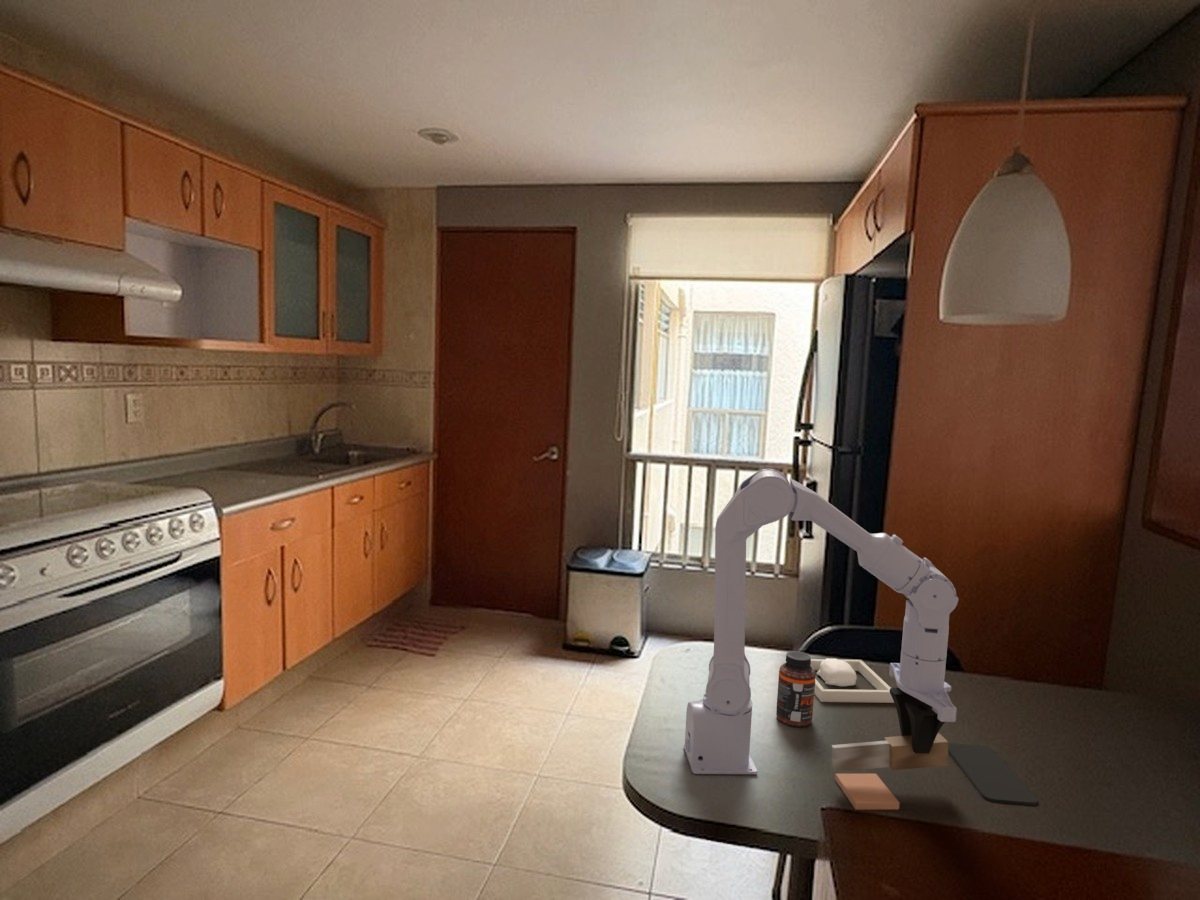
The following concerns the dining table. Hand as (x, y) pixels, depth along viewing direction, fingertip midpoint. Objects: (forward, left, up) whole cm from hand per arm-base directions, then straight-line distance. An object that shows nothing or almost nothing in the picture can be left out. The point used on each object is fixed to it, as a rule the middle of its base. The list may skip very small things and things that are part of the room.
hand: (915, 746), depth 98 cm
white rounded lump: (+4, +36, -7) cm, 37 cm away
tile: (-7, +2, -6) cm, 10 cm away
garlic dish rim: (+4, +34, -6) cm, 34 cm away
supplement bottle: (-10, +20, -6) cm, 23 cm away
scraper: (-4, 0, -3) cm, 5 cm away
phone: (+14, +4, -7) cm, 16 cm away
